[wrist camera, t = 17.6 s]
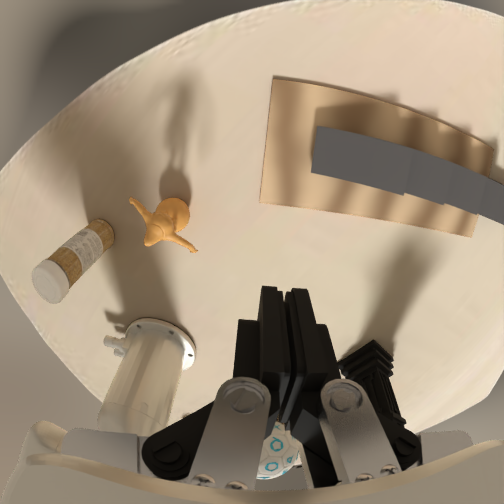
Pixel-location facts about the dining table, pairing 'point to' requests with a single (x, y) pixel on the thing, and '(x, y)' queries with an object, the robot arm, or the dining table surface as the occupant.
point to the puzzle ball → (277, 453)
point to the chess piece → (374, 378)
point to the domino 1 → (361, 159)
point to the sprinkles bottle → (71, 261)
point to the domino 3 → (465, 189)
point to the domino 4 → (493, 201)
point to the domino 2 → (428, 177)
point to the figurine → (165, 222)
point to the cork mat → (369, 124)
